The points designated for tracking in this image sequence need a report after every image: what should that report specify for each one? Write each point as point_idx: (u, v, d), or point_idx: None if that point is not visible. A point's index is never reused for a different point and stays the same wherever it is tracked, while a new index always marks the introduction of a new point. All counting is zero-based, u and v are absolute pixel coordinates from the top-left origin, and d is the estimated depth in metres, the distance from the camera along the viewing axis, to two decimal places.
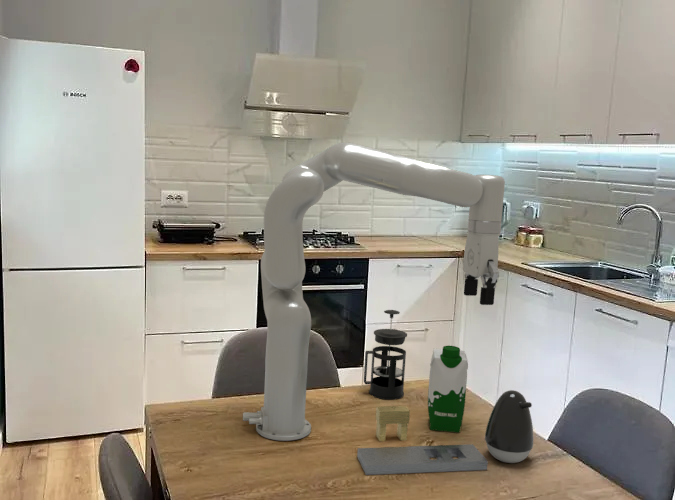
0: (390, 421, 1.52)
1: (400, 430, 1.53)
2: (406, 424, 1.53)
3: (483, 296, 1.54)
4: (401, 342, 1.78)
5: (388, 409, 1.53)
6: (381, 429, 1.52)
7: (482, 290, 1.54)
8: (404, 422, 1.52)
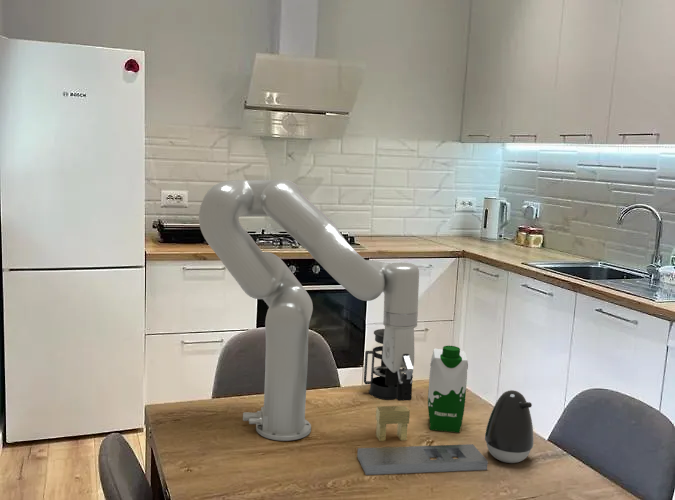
0: (390, 421, 1.52)
1: (400, 430, 1.53)
2: (406, 424, 1.53)
3: (400, 392, 1.47)
4: None
5: (388, 409, 1.53)
6: (381, 429, 1.52)
7: (398, 386, 1.47)
8: (404, 422, 1.52)
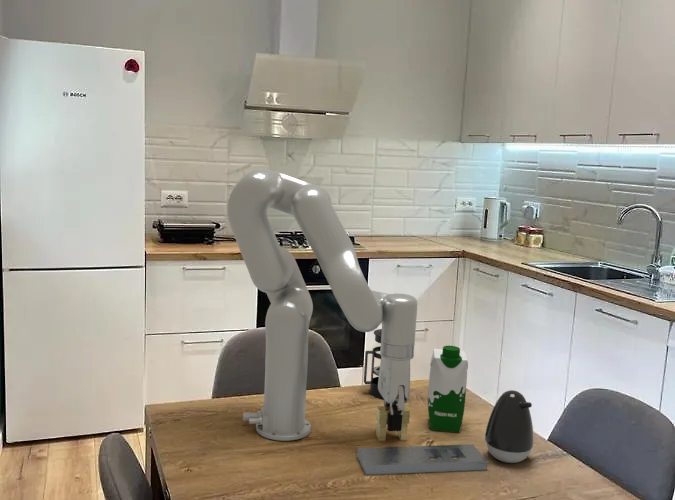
0: None
1: None
2: (406, 424, 1.53)
3: (390, 423, 1.51)
4: None
5: (388, 409, 1.53)
6: (381, 429, 1.52)
7: (389, 417, 1.51)
8: (404, 422, 1.52)
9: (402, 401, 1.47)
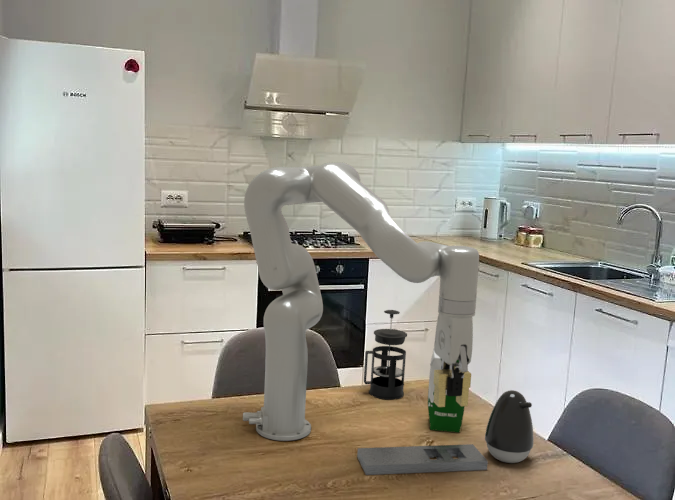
0: None
1: None
2: (467, 388, 1.40)
3: (450, 387, 1.38)
4: (401, 342, 1.78)
5: (447, 372, 1.40)
6: (440, 394, 1.39)
7: (449, 380, 1.38)
8: (465, 386, 1.40)
9: (465, 362, 1.34)
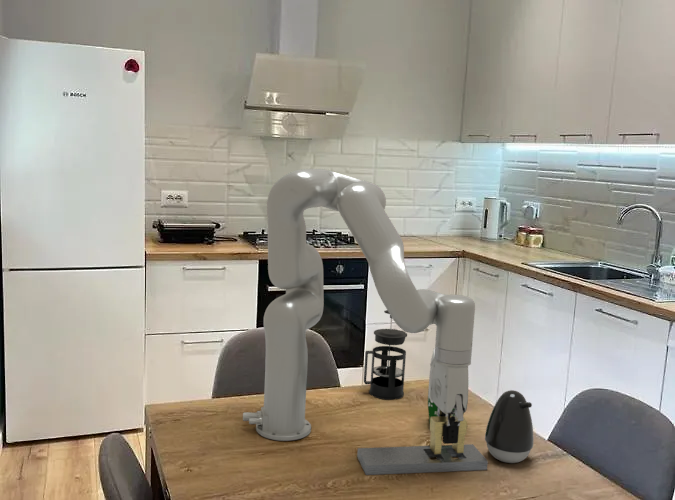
0: None
1: None
2: (463, 435, 1.41)
3: (446, 434, 1.40)
4: (401, 342, 1.78)
5: (443, 419, 1.41)
6: (436, 441, 1.40)
7: (445, 428, 1.39)
8: (461, 433, 1.41)
9: (460, 411, 1.35)
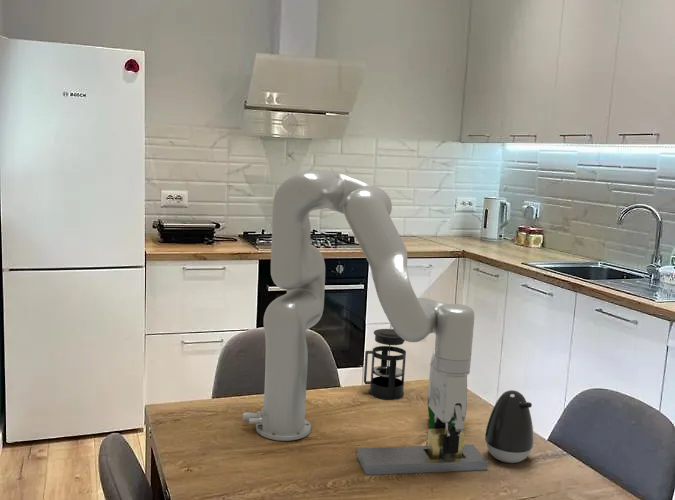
0: None
1: (454, 454, 1.42)
2: (461, 448, 1.42)
3: (446, 444, 1.39)
4: (401, 342, 1.78)
5: (441, 431, 1.42)
6: (434, 453, 1.41)
7: (445, 438, 1.39)
8: (459, 446, 1.42)
9: (460, 419, 1.35)
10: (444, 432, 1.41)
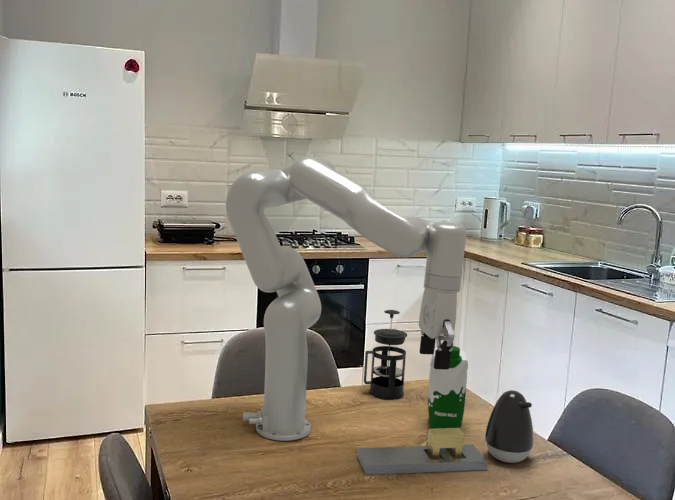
0: (444, 445, 1.41)
1: (454, 454, 1.42)
2: (461, 448, 1.42)
3: (437, 360, 1.37)
4: (401, 342, 1.78)
5: (441, 431, 1.42)
6: (434, 453, 1.41)
7: (436, 353, 1.37)
8: (459, 446, 1.42)
9: (450, 329, 1.34)
10: (444, 432, 1.41)
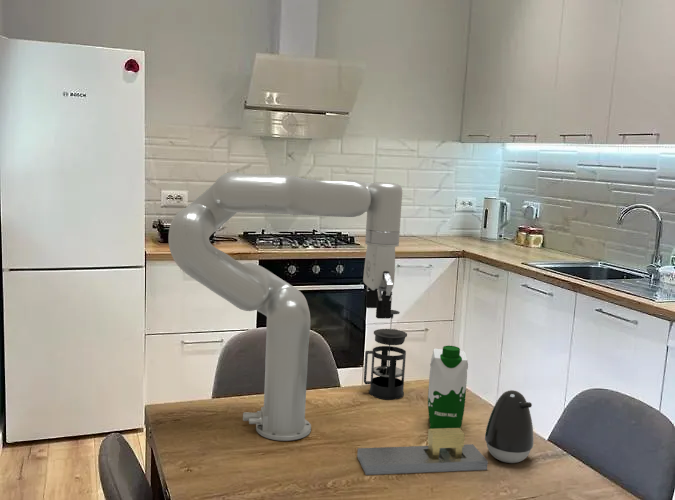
0: (444, 445, 1.41)
1: (454, 454, 1.42)
2: (461, 448, 1.42)
3: (379, 309, 1.48)
4: (401, 342, 1.78)
5: (441, 431, 1.42)
6: (434, 453, 1.41)
7: (378, 303, 1.47)
8: (459, 446, 1.42)
9: (389, 279, 1.45)
10: (444, 432, 1.41)
